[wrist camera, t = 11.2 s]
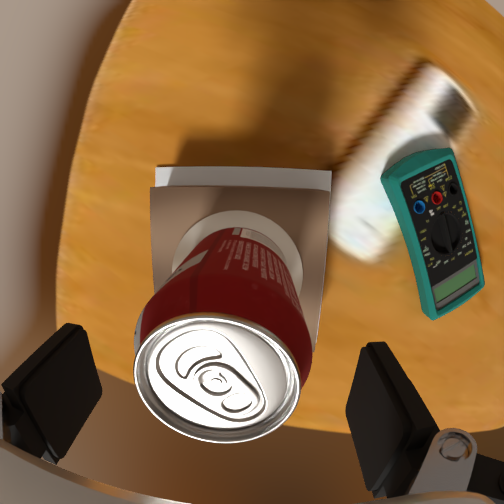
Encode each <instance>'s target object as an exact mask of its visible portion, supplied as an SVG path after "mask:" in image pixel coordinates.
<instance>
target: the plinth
mask: <svg viewBox="0 0 504 504" xmlns="http://www.w3.org/2000/svg"><path fill="white" fill-rule="evenodd" d="M329 203H330V191H325V190H321V189H309V188H290V187H266V186H227V185H171V186H159V187H150V220H151V247H152V265H153V280H154V292H155V293H156V292H157V291H158V290H159V289H160V287H161V286H162V285H163V284H164V283H165V281H166V280H167V279H168V278H169V277H170V276H171V274H172V273H173V272H174V271H175V270H176V269H177V267H178V266H179V265H180V264H181V263H182V262H183V260H184V259H185V258H186V257H187V256H188V255H189V254H190V252H191V251H192V250H193V249H194V248H195V247H196V246H197V244H198V243H199V242H200V241H201V240H203V239H204V238H205V237H206V236H208V235H209V234H211V233H213V232H215V231H217V230H220V229H224V228H230V227H244V228H249V229H253V230H255V231H258V232H260V233H262V234H264V235H266V236H267V237H269V238H270V239H271V240H272V241H273V242H274V243H275V244H276V245H277V246H278V247H279V248H280V250H281V251H282V253H283V255H284V257H285V259H286V262H287V265H288V268H289V271H290V274H291V277H292V280H293V283H294V286H295V289H296V293H297V296H298V299H299V302H300V305H301V308H302V311H303V315H304V318H305V321H306V324H307V328H308V331H309V334H310V338H311V343H312V352H314V351H315V344H316V337H317V329H318V322H319V314H320V306H321V297H322V288H323V278H324V268H325V257H326V246H327V233H328V219H329Z"/></svg>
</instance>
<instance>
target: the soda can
mask: <svg viewBox="0 0 504 504" xmlns="http://www.w3.org/2000/svg"><path fill="white" fill-rule="evenodd" d="M134 349H135V355H136V356H135V360H134V367H133V373H134V381H135V385H136V388H137V390H138V393H139V395H140V397H141V399H142V400H143V402H144V403H145V405H146V406H147V407H148V409H149V410H150V411H151V412H152V413H153V414H154V415H155V416H156V417H157V418H158V419H159V420H161V421H162V422H163V423H164V424H166V425H167V426H169V427H170V428H172V429H174V430H176V431H178V432H180V433H182V434H184V435H187V436H189V437H192V438H195V439H199V440H203V441H208V442H215V443H238V442H245V441H249V440H253V439H256V438H259V437H262V436H264V435H266V434H268V433H270V432H272V431H274V430H275V429H276V428H278V427H279V426H281V425H282V424H283V423H284V422H285V421H286V420H287V419H288V418H289V417H290V416H291V414H292V413H293V412H294V410H295V408H296V406H297V404H298V401H299V398H300V393H301V389H302V387H303V386H304V384H305V382H306V380H307V378H308V375H309V372H310V368H311V364H312V343H311V338H310V334H309V331H308V328H307V324H306V321H305V318H304V315H303V311H302V308H301V305H300V302H299V299H298V296H297V293H296V289H295V286H294V283H293V280H292V277H291V274H290V271H289V268H288V265H287V262H286V259H285V257H284V255H283V253H282V251H281V250H280V248H279V247H278V246H277V245H276V244H275V243H274V242H273V241H272V240H271V239H270V238H269V237H267V236H266V235H264V234H262V233H260V232H258V231H255V230H253V229H249V228H244V227H230V228H224V229H220V230H217V231H215V232H213V233H211V234H209V235H208V236H206V237H205V238H204V239H203V240H201V241H200V242H199V243H198V244H197V246H196V247H195V248H194V249H193V250H192V251H191V252H190V254H189V255H188V256H187V257H186V258H185V259H184V260H183V262H182V263H181V264H180V265H179V266H178V267H177V269H176V270H175V271H174V272H173V273H172V274H171V276H170V277H169V278H168V279H167V280H166V281H165V283H164V284H163V285H162V286H161V287H160V289H159V290H158V291H157V292H156V293H155V295H154V296H153V297H152V298H151V299H150V301H149V302H148V303H147V304H146V306H145V307H144V309H143V311H142V313H141V314H140V316H139V319H138V322H137V325H136V329H135V336H134Z"/></svg>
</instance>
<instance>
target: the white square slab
mask: <svg viewBox="0 0 504 504" xmlns="http://www.w3.org/2000/svg"><path fill="white" fill-rule="evenodd" d="M331 174H332V171H323V170H309V169H293V168H271V167H234V166H191V167H156V187H159V186H171V185H227V186H266V187H290V188H309V189H321V190H325V191H330V195H331ZM329 213H330V203H329ZM328 227H329V219H328ZM327 240H328V233H327ZM326 252H327V246H326ZM325 264H326V257H325ZM324 274H325V268H324ZM323 284H324V278H323ZM322 293H323V288H322ZM321 302H322V297H321ZM320 310H321V306H320ZM319 318H320V314H319ZM318 326H319V322H318ZM317 333H318V329H317ZM316 340H317V337H316Z"/></svg>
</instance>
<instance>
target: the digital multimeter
mask: <svg viewBox="0 0 504 504" xmlns="http://www.w3.org/2000/svg"><path fill="white" fill-rule="evenodd" d="M381 183H382V185H383V187H384V189H385V191H386V194H387V196H388V198H389V200H390V203H391V205H392V207H393V210H394V212H395V215H396V217H397V220H398V223H399V225H400V228H401V231H402V233H403V236H404V239H405V242H406V245H407V248H408V252H409V255H410V259H411V262H412V266H413V269H414V273H415V277H416V282H417V287H418V291H419V296H420V302H421V307H422V311H423V313H424V314H425V315H426V316H428V317H429V318H430V319H431V320H435V319H437V318H439V317H441V316H443V315H445V314H447V313H449V312H451V311H453V310H454V309H456V308H458V307H459V306H461V305H462V304H464V303H465V302H466V301H468V300H469V299H470V298H472V297H473V296H474V295H475V294H476V293H478V292H479V291H480V290H481V289H482V288H483V287H484V285H485V281H484V275H483V270H482V265H481V260H480V256H479V251H478V247H477V242H476V237H475V233H474V228H473V224H472V220H471V216H470V211H469V207H468V203H467V199H466V195H465V191H464V188H463V184H462V181H461V177H460V173H459V169H458V166H457V162H456V159H455V156H454V153H453V151H452V149H451V148H442V149H432V150H425V151H420V152H416V153H413V154H411V155H409V156H407V157H404V158H403V159H402V160H400V161H399V162H397V163H396V164H394V165H393V166H392V167H391V168H390V169H388V170H387V171H386V172H385V173H384V174H383V175H381ZM403 194H404V195H403ZM409 211H410V212H409ZM443 212H444V213H443ZM410 214H411V215H410ZM411 217H412V218H411ZM412 220H413V221H412ZM413 223H414V224H413ZM414 226H415V227H414ZM417 236H418V237H417ZM418 239H419V240H418ZM420 246H421V247H420ZM422 253H423V254H422ZM424 260H425V261H424ZM425 264H426V265H425Z"/></svg>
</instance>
